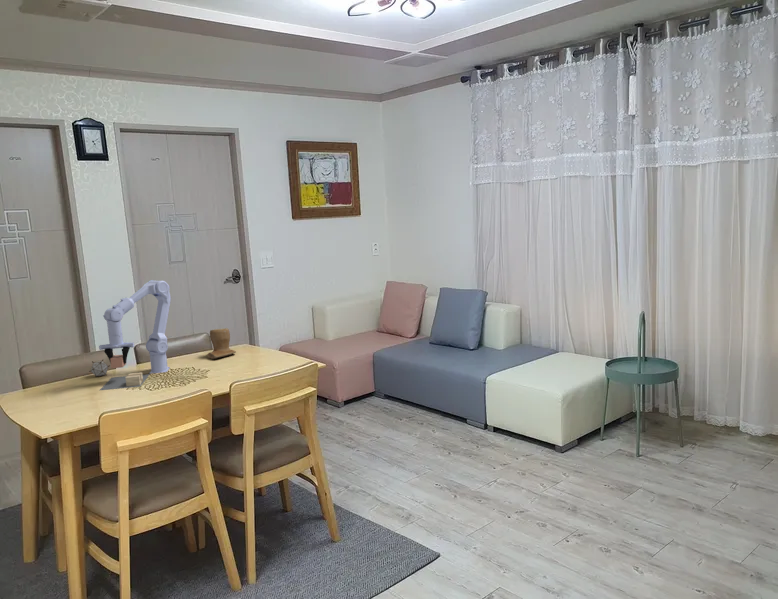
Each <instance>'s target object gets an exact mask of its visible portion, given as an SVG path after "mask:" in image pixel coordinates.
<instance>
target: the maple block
mask: <svg viewBox="0 0 778 599" xmlns="http://www.w3.org/2000/svg"><path fill="white" fill-rule="evenodd" d="M143 375H144V374H143V372H132V373H128V374H127V375H126V376H127V377H126V386H136V385H140V384H141V383H142V382H143Z"/></svg>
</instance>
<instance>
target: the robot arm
mask: <svg viewBox="0 0 778 599" xmlns="http://www.w3.org/2000/svg"><path fill="white" fill-rule="evenodd" d="M170 287H171V286H170V285H169V284H168V282H166V281H165V280H155V279H151V280H149V281H148V282H145V283H144V284H143V286H141V287H140V288H139V289H138V290H137V291H136V292H134V293H133V294H132V295H131V296H130V297H124V298H123V297H122V298H120V301H119V302H117V303H116V304H113V305H112V308H111V307H110V308H107V309H106V310H105V311H104V314H103V315H102V316H103V319H104V320H106V324H107V332H108V333H107V334H108V342H109V343H107V344H106V343H105V344H100V345H98V348H99V349H98V350H99V351H103V350H104V351H103V352H104V354H105V355H106V356H107V358H108V360H109V362H110V364H111V360H110V359H111V358H112V357H113V356H114V349H121V352H122V354H121V355H123V362H124V364H126V365H127V357H128V355H129V351H130V348H134V347H135V342H124V336H123V329H122V328H123V327H122V321H121V320H122V319H123V318H124V315H126V314H127V313H128V312H130V311H131V310H132V309H134V307H135V304H136V303H137V302H138V301H140V300H142V299H143V298H144V297H146V296H148V295H152V296H154V297H155V298H156V300H157V308H156V311H155V312H156V313H155V318H154V325H153V329H152V333H150V335H149V337H148V340H147V342H145V349H146V350H147V352H148V354H149V361H150V371H149V372H148V374H150V375H151V374H159V373H160V374H161V373H162V374H163V373H167V372H168V371H169V369H170V366H168V357H167V351H168V349H169V344H168V336H166V335H165V334H166V330H167V324H168V318H169V311H170V307H171V306H170V305H171V300H172V297H171V293H170V292H171V291H170Z"/></svg>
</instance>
